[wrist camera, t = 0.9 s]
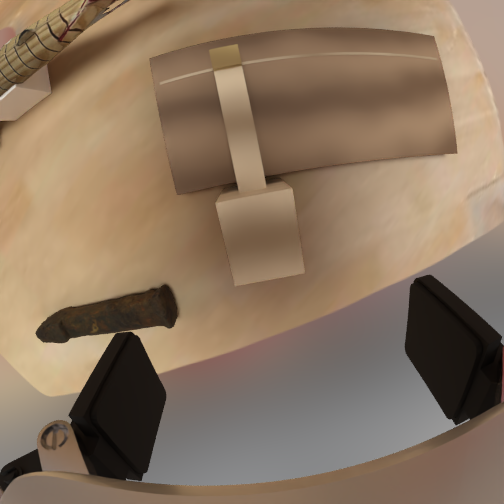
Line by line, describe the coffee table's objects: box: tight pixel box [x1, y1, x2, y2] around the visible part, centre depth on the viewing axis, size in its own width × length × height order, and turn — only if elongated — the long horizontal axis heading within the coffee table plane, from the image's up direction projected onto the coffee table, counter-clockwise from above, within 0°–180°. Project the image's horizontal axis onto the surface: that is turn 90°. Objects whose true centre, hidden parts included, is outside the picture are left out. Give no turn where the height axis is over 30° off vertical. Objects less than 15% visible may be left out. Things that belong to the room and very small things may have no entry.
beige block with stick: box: [209, 44, 305, 286], centre depth 21 cm, size 17×5×7 cm, turn 11°
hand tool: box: [36, 285, 177, 343], centre depth 27 cm, size 19×4×5 cm, turn 101°
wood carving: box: [0, 0, 129, 121], centre depth 15 cm, size 9×35×11 cm, turn 107°
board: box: [150, 28, 457, 195], centre depth 21 cm, size 12×26×3 cm, turn 101°
